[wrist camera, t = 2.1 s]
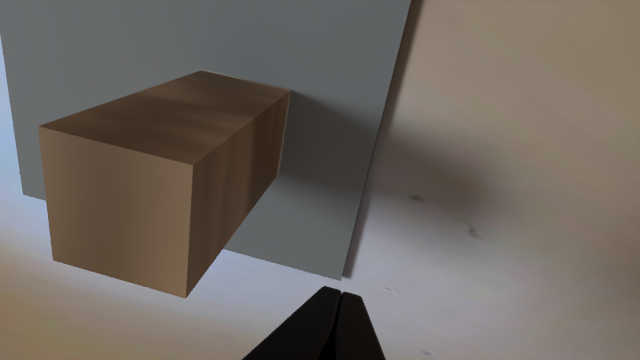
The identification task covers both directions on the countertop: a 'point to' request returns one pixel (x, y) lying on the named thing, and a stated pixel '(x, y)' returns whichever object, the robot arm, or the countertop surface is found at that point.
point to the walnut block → (161, 176)
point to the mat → (234, 60)
